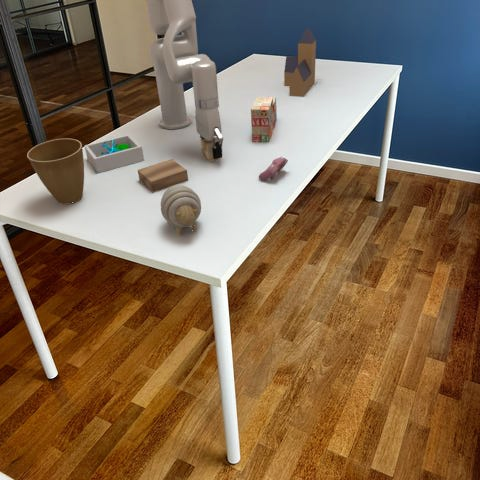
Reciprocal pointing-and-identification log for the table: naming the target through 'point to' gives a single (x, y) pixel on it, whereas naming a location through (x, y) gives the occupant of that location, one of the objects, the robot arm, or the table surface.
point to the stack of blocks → (263, 118)
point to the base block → (162, 175)
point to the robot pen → (114, 154)
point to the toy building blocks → (301, 66)
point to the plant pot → (60, 168)
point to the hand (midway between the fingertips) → (211, 153)
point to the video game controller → (273, 169)
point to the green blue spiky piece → (115, 148)
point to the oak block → (207, 149)
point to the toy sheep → (180, 207)
